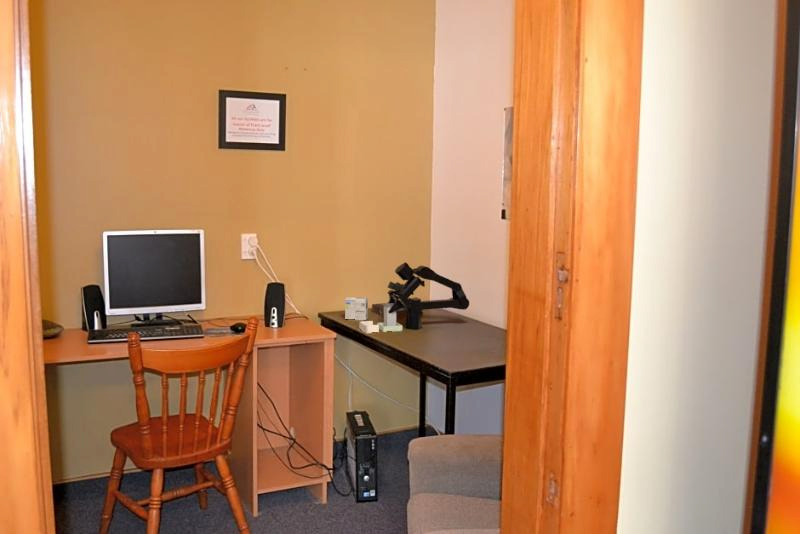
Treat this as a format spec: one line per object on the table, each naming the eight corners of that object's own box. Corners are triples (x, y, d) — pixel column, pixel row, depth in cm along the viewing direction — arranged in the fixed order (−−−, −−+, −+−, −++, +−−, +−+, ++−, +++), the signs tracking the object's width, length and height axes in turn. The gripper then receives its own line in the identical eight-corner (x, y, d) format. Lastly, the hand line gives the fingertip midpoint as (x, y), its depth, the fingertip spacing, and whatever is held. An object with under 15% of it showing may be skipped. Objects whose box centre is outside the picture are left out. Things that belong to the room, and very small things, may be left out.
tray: (395, 327, 337) (395, 321, 337) (402, 330, 329) (402, 325, 329) (377, 328, 334) (377, 322, 334) (383, 332, 326) (383, 326, 325)
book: (371, 313, 375) (372, 303, 375) (402, 311, 383) (402, 301, 382) (389, 320, 355) (389, 311, 354) (421, 318, 362) (421, 308, 361)
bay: (372, 328, 334) (372, 320, 333) (378, 332, 325) (378, 324, 324) (359, 328, 332) (359, 321, 331) (365, 333, 322) (365, 325, 322)
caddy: (392, 324, 335) (392, 303, 333) (396, 326, 330) (396, 304, 329) (383, 324, 333) (383, 303, 332) (387, 326, 328) (387, 305, 327)
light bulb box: (368, 318, 358) (368, 297, 357) (366, 320, 352) (366, 299, 350) (347, 317, 359) (347, 296, 358) (344, 320, 353) (344, 298, 351)
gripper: (391, 273, 339) (369, 296, 336) (405, 278, 321) (382, 303, 319) (407, 288, 342) (385, 312, 340) (421, 294, 325) (398, 319, 322)
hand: (387, 311), depth 330 cm, fingers closed on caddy, 5 cm apart
